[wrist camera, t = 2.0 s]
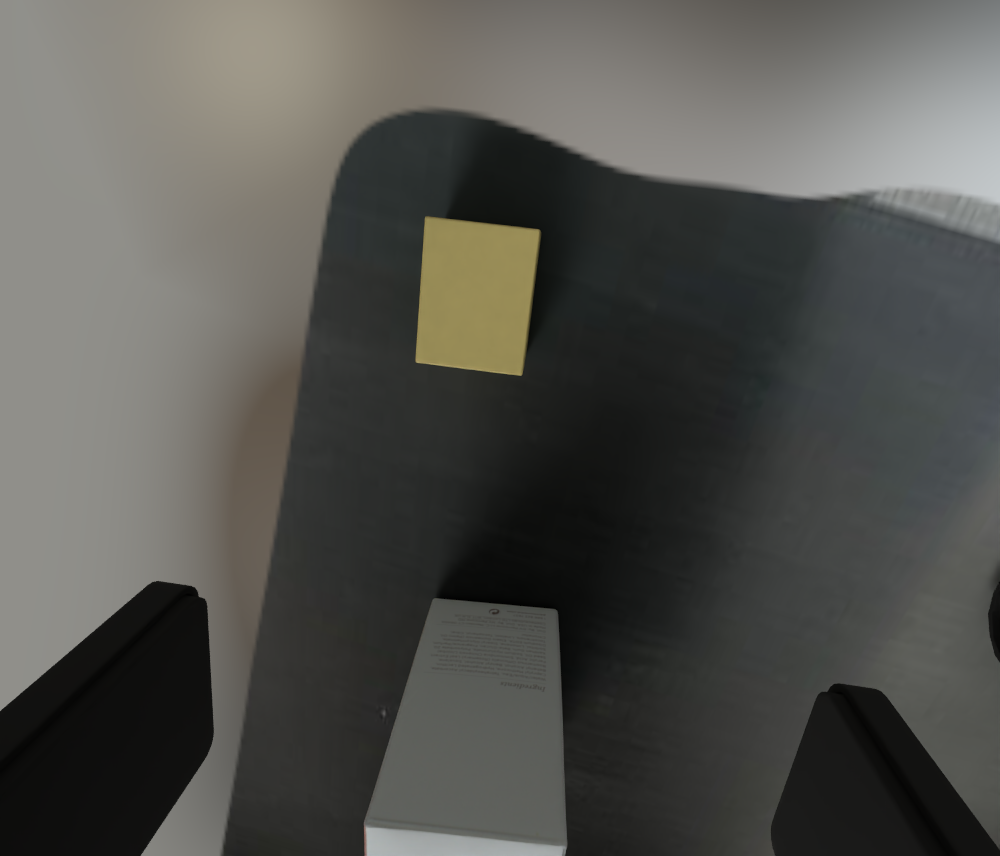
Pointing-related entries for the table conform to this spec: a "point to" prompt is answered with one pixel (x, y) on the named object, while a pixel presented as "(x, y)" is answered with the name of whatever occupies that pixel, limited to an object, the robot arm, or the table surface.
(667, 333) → the table surface
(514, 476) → the table surface
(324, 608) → the table surface
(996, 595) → the camera
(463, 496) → the table surface
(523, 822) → the small box
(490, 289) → the butter
